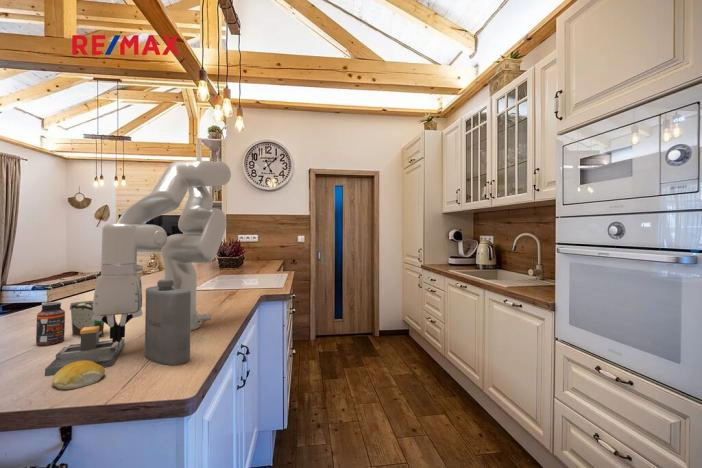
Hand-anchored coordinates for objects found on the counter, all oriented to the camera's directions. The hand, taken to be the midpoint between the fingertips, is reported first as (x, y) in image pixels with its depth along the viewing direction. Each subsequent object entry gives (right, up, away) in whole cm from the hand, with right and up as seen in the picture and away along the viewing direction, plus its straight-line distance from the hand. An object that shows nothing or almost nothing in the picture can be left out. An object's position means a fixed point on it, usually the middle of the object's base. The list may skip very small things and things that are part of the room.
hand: (117, 340), depth 82 cm
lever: (-5, -2, -2) cm, 6 cm away
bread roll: (+3, -4, -14) cm, 15 cm away
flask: (+14, -4, -2) cm, 14 cm away
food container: (-19, -4, +16) cm, 26 cm away
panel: (-5, -4, -2) cm, 7 cm away
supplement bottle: (-26, -4, +8) cm, 27 cm away
